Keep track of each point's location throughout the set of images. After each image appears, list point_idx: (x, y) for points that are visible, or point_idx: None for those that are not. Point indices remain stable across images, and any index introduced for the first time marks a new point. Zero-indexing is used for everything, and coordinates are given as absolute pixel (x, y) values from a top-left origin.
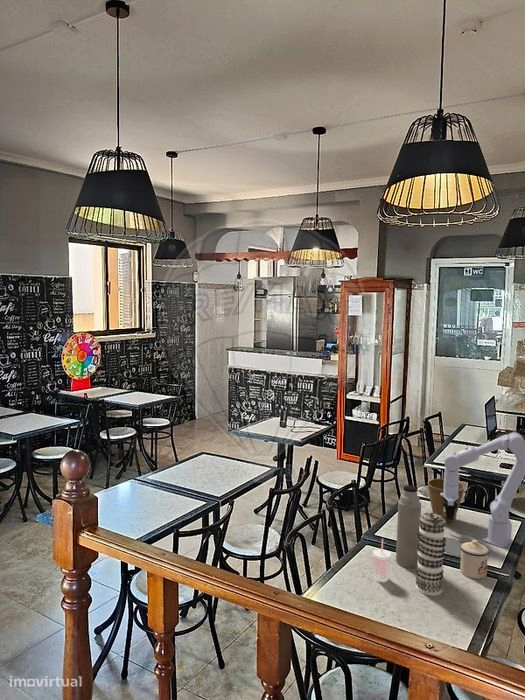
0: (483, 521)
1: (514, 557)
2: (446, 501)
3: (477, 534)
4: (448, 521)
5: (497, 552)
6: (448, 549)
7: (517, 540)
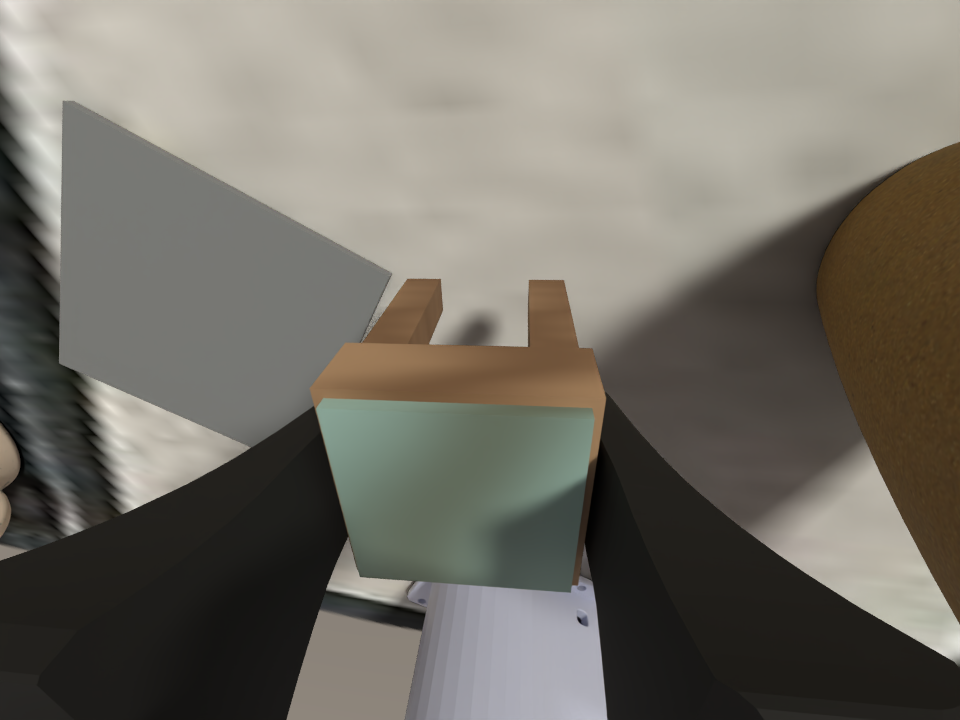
0: (870, 564)
1: None
2: (643, 604)
3: None
4: (821, 315)
5: None
6: (124, 296)
7: None
